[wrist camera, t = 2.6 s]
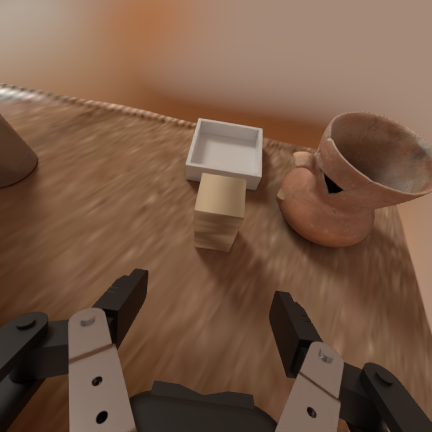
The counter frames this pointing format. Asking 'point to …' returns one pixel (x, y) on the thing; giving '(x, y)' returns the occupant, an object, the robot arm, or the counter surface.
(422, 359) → the counter surface
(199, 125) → the tray
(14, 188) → the counter surface
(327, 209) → the ceramic jug
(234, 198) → the block
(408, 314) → the counter surface
